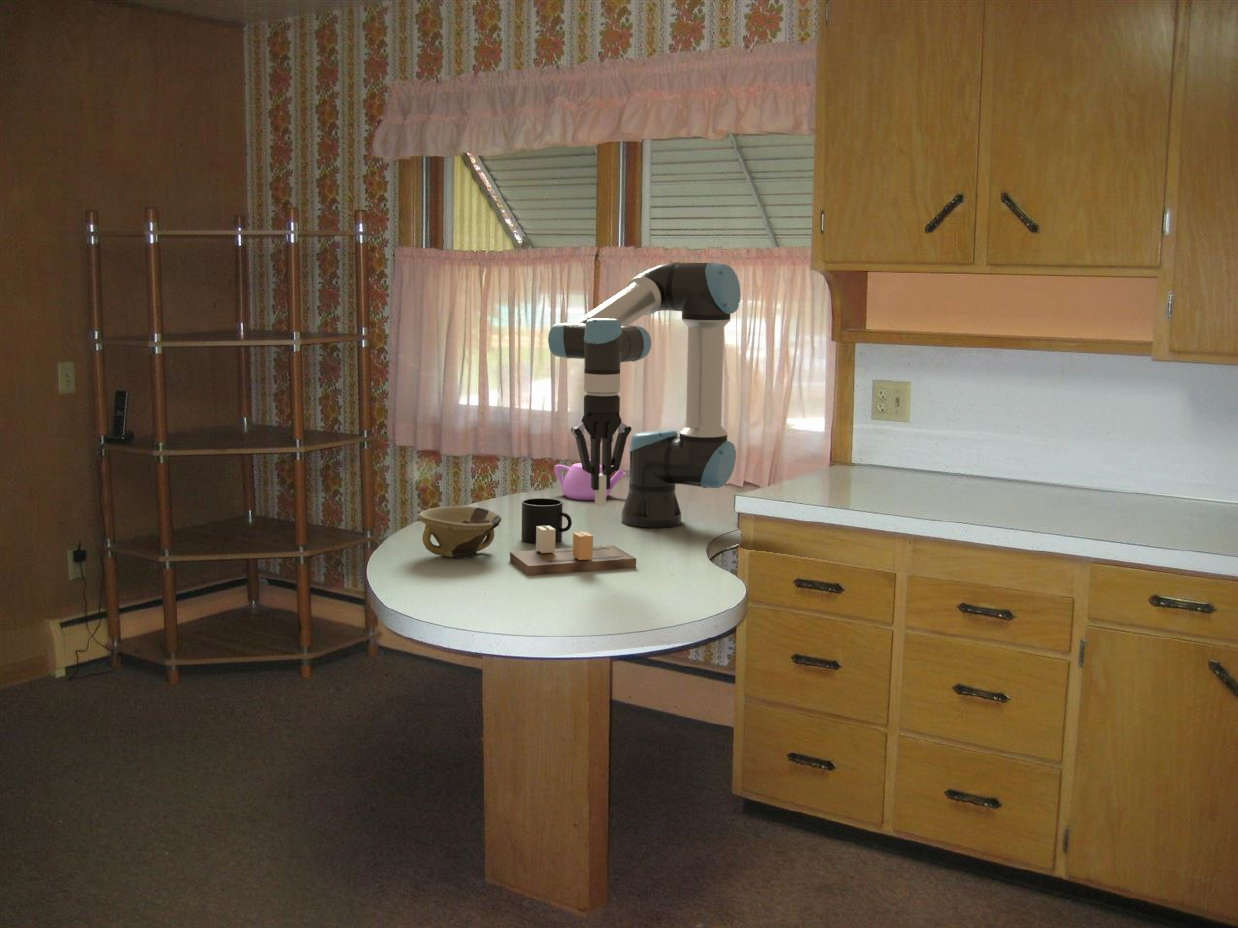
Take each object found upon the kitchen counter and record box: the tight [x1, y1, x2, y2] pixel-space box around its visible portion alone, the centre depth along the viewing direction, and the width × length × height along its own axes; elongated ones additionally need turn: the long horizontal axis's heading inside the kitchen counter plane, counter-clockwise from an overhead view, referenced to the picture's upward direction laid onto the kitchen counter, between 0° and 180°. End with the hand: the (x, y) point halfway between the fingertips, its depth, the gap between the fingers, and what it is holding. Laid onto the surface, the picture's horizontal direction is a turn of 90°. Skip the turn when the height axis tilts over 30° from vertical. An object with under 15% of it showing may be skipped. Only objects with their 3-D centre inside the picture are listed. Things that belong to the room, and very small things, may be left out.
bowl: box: [418, 505, 502, 559], centre depth 263 cm, size 18×18×10 cm
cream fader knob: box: [535, 525, 556, 553], centre depth 259 cm, size 3×4×5 cm
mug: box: [520, 497, 573, 545], centre depth 280 cm, size 9×12×9 cm
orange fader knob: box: [572, 531, 594, 560], centre depth 254 cm, size 3×4×5 cm
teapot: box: [553, 458, 626, 501], centre depth 336 cm, size 14×20×11 cm
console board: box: [509, 545, 637, 576], centre depth 258 cm, size 24×13×2 cm, turn 112°
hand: (600, 504), depth 254 cm, fingers closed
